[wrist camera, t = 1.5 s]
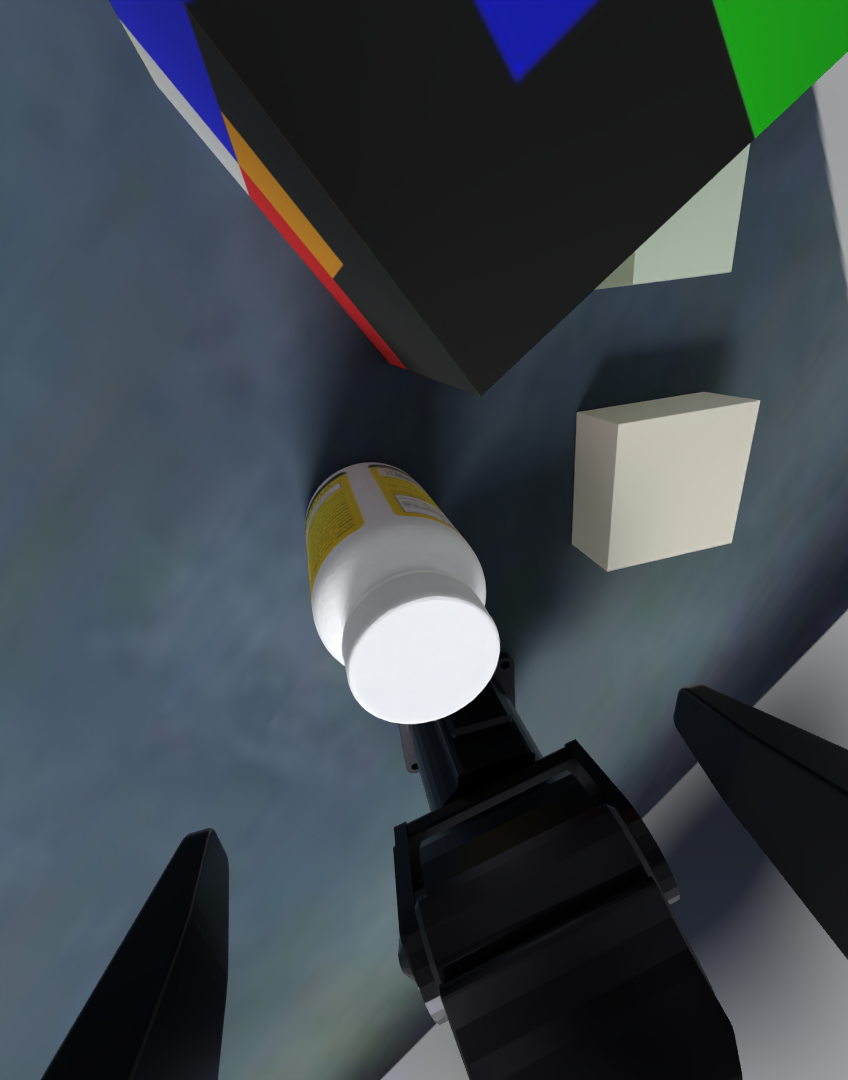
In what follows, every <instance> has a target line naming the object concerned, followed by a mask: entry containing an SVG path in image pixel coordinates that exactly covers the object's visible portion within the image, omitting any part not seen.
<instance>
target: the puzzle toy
mask: <svg viewBox="0 0 848 1080" xmlns="http://www.w3.org/2000/svg"><path fill="white" fill-rule="evenodd" d="M109 2H110V4H111V5H112V7H113V9H114V11H115V13H116V14H117V16H118V18H119V20H120V21H121V23H122V25H123V27H124V28H125V30H126V32H127V34H128V36H129V37H130V39H131V41H132V43H133V44H134V46H135V48H136V50H137V51H138V53H139V55H140V57H141V59H142V60H143V62H144V64H145V66H146V67H147V69H148V71H149V73H150V74H151V76H152V78H153V80H154V81H155V83H156V85H157V86H158V87H159V88H160V90H161V91H162V92H163V93H164V94H165V96H166V97H167V98H168V99H169V100H170V102H171V103H172V104H173V105H174V106H175V108H176V109H177V110H178V111H179V112H180V114H181V115H182V116H183V117H184V118H185V120H186V121H187V122H188V123H189V124H190V126H191V127H192V128H193V129H194V130H195V132H196V133H197V134H198V135H199V136H200V137H201V139H202V140H203V141H204V142H205V143H206V145H207V146H208V147H209V148H210V149H211V151H212V152H213V153H214V154H215V155H216V157H217V158H218V159H219V160H220V161H221V163H222V164H223V165H224V166H225V167H226V169H227V170H228V171H229V172H230V173H231V175H232V176H233V177H234V178H235V179H236V181H237V182H238V183H239V184H240V185H241V187H242V188H243V189H244V190H245V191H246V192H247V194H248V195H249V196H250V197H251V198H252V200H253V201H254V202H255V203H256V204H257V206H258V207H259V208H260V209H261V210H262V212H263V213H264V214H265V215H266V216H267V218H268V219H269V220H270V221H271V222H272V224H273V225H274V226H275V227H276V228H277V230H278V231H279V232H280V233H281V234H282V236H283V237H284V238H285V239H286V240H287V242H288V243H289V244H290V245H291V246H292V247H293V249H294V250H295V251H296V252H297V253H298V255H299V256H300V257H301V258H302V259H303V261H304V262H305V263H306V264H307V265H308V267H309V268H310V269H311V270H312V271H313V273H314V274H315V275H316V276H317V277H318V279H319V280H320V281H321V282H322V283H323V285H324V286H325V287H326V288H327V289H328V291H329V292H330V293H331V294H332V295H333V297H334V298H335V299H336V300H337V301H338V302H339V304H340V305H341V306H342V307H343V308H344V310H345V311H346V312H347V313H348V314H349V316H350V317H351V318H352V319H353V320H354V322H355V323H356V324H357V325H358V326H359V328H360V329H361V330H362V331H363V332H364V334H365V335H366V336H367V337H368V338H369V340H370V341H371V342H372V343H373V344H374V346H375V347H376V348H377V349H378V350H379V352H380V353H381V354H382V355H383V356H384V357H385V359H386V360H387V361H388V362H389V363H390V364H392V365H395V366H398V367H400V368H403V369H406V370H409V371H411V372H414V373H417V374H420V375H422V376H425V377H428V378H431V379H433V380H436V381H439V382H442V383H444V384H447V385H450V386H453V387H455V388H458V389H461V390H464V391H467V392H469V393H472V394H475V395H478V396H480V397H481V396H482V395H483V394H484V393H485V392H486V391H487V390H488V389H489V388H490V387H491V386H492V385H493V384H494V383H495V382H497V381H498V380H499V379H500V378H501V377H502V376H503V375H504V374H505V373H506V372H507V371H508V370H509V369H510V368H511V367H512V366H514V365H515V364H516V363H517V362H518V361H519V360H520V359H521V358H522V357H523V356H524V355H525V354H526V353H527V352H528V351H529V350H531V349H532V348H533V347H534V346H535V345H536V344H537V343H538V342H539V341H540V340H541V339H542V338H543V337H544V336H545V335H547V334H548V333H549V332H550V331H551V330H552V329H553V328H554V327H555V326H556V325H557V324H558V323H559V322H560V321H561V320H562V319H564V318H565V317H566V316H567V315H568V314H569V313H570V312H571V311H572V310H573V309H574V308H575V307H576V306H577V305H578V304H580V303H581V302H582V301H583V300H584V299H585V298H586V297H587V296H588V295H589V294H590V293H591V292H592V291H593V290H594V289H595V288H597V287H598V286H599V285H600V284H601V283H602V282H603V281H604V280H605V279H606V278H607V277H608V276H609V275H610V274H611V273H613V272H614V271H615V270H616V269H617V268H618V267H619V266H620V265H621V264H622V263H623V262H624V261H625V260H626V259H627V258H628V257H630V256H631V255H632V254H633V253H634V252H635V251H636V250H637V249H638V248H639V247H640V246H641V245H642V244H643V243H644V242H645V241H647V240H648V239H649V238H650V237H651V236H652V235H653V234H654V233H655V232H656V231H657V230H658V229H659V228H660V227H661V226H663V225H664V224H665V223H666V222H667V221H668V220H669V219H670V218H671V217H672V216H673V215H674V214H675V213H676V212H677V211H678V210H680V209H681V208H682V207H683V206H684V205H685V204H686V203H687V202H688V201H689V200H690V199H691V198H692V197H693V196H694V195H696V194H697V193H698V192H699V191H700V190H701V189H702V188H703V187H704V186H705V185H706V184H707V183H708V182H709V181H710V180H711V179H713V178H714V177H715V176H716V175H717V174H718V173H719V172H720V171H721V170H722V169H723V168H724V167H725V166H726V165H727V164H729V163H730V162H731V161H732V160H733V159H734V158H735V157H736V156H737V155H738V154H739V153H740V152H741V151H742V150H743V149H744V148H746V147H747V146H748V145H749V144H750V143H751V142H752V141H753V140H754V139H755V138H756V137H757V136H758V135H759V134H760V133H762V132H763V131H764V130H765V129H766V128H767V127H768V126H769V125H770V124H771V123H772V122H773V121H774V120H775V119H776V118H777V117H779V116H780V115H781V114H782V113H783V112H784V111H785V110H786V109H787V108H788V107H789V106H790V105H791V104H792V103H793V102H794V101H796V100H797V99H798V98H799V97H800V96H801V95H802V94H803V93H804V92H805V91H806V90H807V89H808V88H809V87H810V86H812V85H813V84H814V83H815V82H816V81H817V80H818V79H819V78H820V77H821V76H822V75H823V74H824V73H825V72H826V71H827V70H828V69H830V68H831V67H832V66H833V65H834V64H835V63H836V62H837V61H838V60H839V59H840V58H841V57H842V56H843V55H844V54H846V53H847V52H848V0H109Z"/></svg>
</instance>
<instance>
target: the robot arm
mask: <svg viewBox="0 0 848 1080" xmlns="http://www.w3.org/2000/svg"><path fill="white" fill-rule="evenodd" d="M505 661H506V662H505ZM503 662H505V663H504V664H502V663H503ZM674 723H675V726H676V728H677V730H678V731H679V733H680V734H681V736H682V738H683V739H684V741H685V742H686V744H687V745H688V747H689V748H690V750H691V751H692V753H693V754H694V756H695V758H696V759H697V761H698V762H699V764H700V765H701V767H702V768H703V770H704V771H705V773H706V774H707V776H708V777H709V779H710V780H711V782H712V783H713V785H714V787H715V788H716V790H717V791H718V793H719V794H720V796H721V797H722V798H723V800H724V801H725V803H726V804H727V805H728V806H729V808H730V809H731V811H732V812H733V813H734V814H735V816H736V817H737V818H738V820H739V821H740V822H741V824H742V825H743V826H744V827H745V829H746V830H747V831H748V832H749V834H750V835H751V836H752V838H753V839H754V840H755V841H756V843H757V844H758V845H759V847H760V848H761V849H762V850H763V852H764V853H765V854H766V856H767V857H768V858H769V859H770V861H771V862H772V863H773V864H774V866H775V867H776V868H777V870H778V871H779V872H780V874H781V875H782V876H783V877H784V879H785V880H786V881H787V882H788V884H789V885H790V886H791V888H792V889H793V890H794V891H795V893H796V894H797V895H798V897H799V898H800V899H801V900H802V902H803V903H804V904H805V906H806V907H807V908H808V909H809V911H810V912H811V913H812V914H813V916H814V917H815V918H816V920H817V921H818V922H819V923H820V925H821V926H822V927H823V929H824V930H825V931H826V932H827V934H828V935H829V936H830V938H831V939H832V940H833V941H834V943H835V944H836V945H837V947H838V948H839V949H840V950H841V951H842V953H843V954H844V955H845V957H846V958H847V959H848V750H847V749H845V748H843V747H841V746H839V745H836V744H834V743H831V742H830V741H827V740H825V739H823V738H821V737H819V736H816V735H814V734H812V733H810V732H807V731H805V730H803V729H801V728H798V727H796V726H794V725H792V724H790V723H787V722H785V721H783V720H781V719H778V718H776V717H774V716H772V715H770V714H767V713H765V712H763V711H761V710H758V709H756V708H754V707H752V706H750V705H747V704H745V703H743V702H741V701H738V700H736V699H734V698H732V697H730V696H727V695H725V694H723V693H721V692H718V691H716V690H714V689H712V688H710V687H707V686H705V685H702V684H694V685H691V686H687V687H684V688H682V689H680V690H679V693H678V697H677V701H676V706H675V711H674ZM399 729H400V734H401V740H402V746H403V752H404V758H405V763H406V767H407V770H408V772H410V773H417V772H420V775H421V778H422V782H423V785H424V789H425V792H426V796H427V800H428V803H429V807H430V810H431V812H430V813H428V814H426V815H424V816H421V817H419V818H417V819H415V820H413V821H411V822H409V823H407V822H404V823H402V824H400V825H398V826H396V827H394V834H395V847H393V852H394V865H395V879H396V892H397V906H398V920H399V933H400V938H399V950H398V957H399V963H400V966H401V969H402V971H403V973H404V974H405V975H406V976H408V977H409V978H411V979H412V980H414V981H415V982H416V983H417V986H418V988H419V990H420V992H421V995H422V997H423V1000H424V1002H425V1004H426V1006H427V1008H428V1011H429V1013H430V1015H431V1016H432V1018H433V1019H434V1021H435V1022H436V1023H438V1024H439V1025H440V1024H442V1023H444V1022H446V1021H448V1020H449V1023H450V1026H451V1029H452V1031H453V1034H454V1037H455V1040H456V1043H457V1046H458V1048H459V1051H460V1054H461V1057H462V1059H463V1063H464V1065H465V1068H466V1071H467V1074H468V1077H469V1080H742V1071H741V1066H740V1061H739V1055H738V1050H737V1045H736V1040H735V1035H734V1031H733V1027H732V1025H731V1023H730V1021H729V1019H728V1017H727V1016H726V1014H725V1012H724V1010H723V1008H722V1007H721V1005H720V1003H719V1002H718V1000H717V998H716V996H715V994H714V991H713V989H712V986H711V984H710V982H709V981H708V978H707V976H706V974H705V973H704V971H703V969H702V967H701V965H700V963H699V961H698V959H697V957H696V955H695V953H694V951H693V949H692V947H691V945H690V943H689V942H688V940H687V938H686V936H685V934H684V932H683V930H682V928H681V926H680V924H679V922H678V920H677V918H676V916H675V914H674V912H673V910H672V909H671V907H670V904H672V903H673V902H675V901H677V900H679V896H680V894H679V891H678V888H677V885H676V882H675V879H674V877H673V874H672V872H671V870H670V868H669V866H668V864H667V862H666V860H665V858H664V856H663V854H662V852H661V851H660V849H659V847H658V845H657V843H656V842H655V840H654V838H653V837H652V835H651V833H650V832H649V830H648V828H647V827H646V825H645V824H644V822H643V821H642V819H641V818H640V816H639V815H638V813H637V812H636V811H635V809H634V808H633V806H632V805H631V804H630V803H629V801H628V800H627V799H626V797H625V796H624V795H623V794H622V793H621V792H620V790H619V789H618V788H617V787H616V786H615V785H614V783H613V782H612V781H611V780H610V779H609V778H608V777H607V775H606V774H605V773H604V772H603V771H602V770H601V768H600V767H599V766H598V765H597V764H596V763H595V761H594V760H593V759H592V758H591V757H590V756H589V754H588V753H587V752H586V751H585V750H584V749H583V747H582V746H581V745H580V744H579V743H578V742H577V740H576V739H575V740H573V741H570V742H568V743H566V744H564V746H565V747H563V748H561V749H559V750H557V751H555V752H553V753H551V754H549V755H547V756H545V757H543V756H542V754H541V753H540V751H539V749H538V747H537V746H536V744H535V742H534V741H533V739H532V737H531V735H530V734H529V732H528V730H527V729H526V727H525V725H524V723H523V722H522V720H521V718H520V716H519V715H518V713H517V711H516V710H515V688H514V662H513V659H512V658H511V656H510V655H509V654H507V653H500V654H499V658H498V663H497V666H496V669H495V671H494V673H493V675H492V677H491V679H490V681H489V682H488V684H487V685H486V686H485V688H484V689H483V690H482V691H481V692H480V693H479V694H478V695H477V696H476V697H475V698H474V699H473V700H472V701H471V702H469V703H468V704H467V705H466V706H464V707H462V708H461V709H459V710H458V711H456V712H454V713H452V714H450V715H448V716H446V717H443V718H440V719H437V720H433V721H429V722H425V723H417V724H401V723H399ZM228 929H229V864H228V858H227V855H226V853H225V851H224V849H223V846H222V844H221V842H220V840H219V838H218V836H217V834H216V832H215V831H214V830H213V829H212V828H207V829H204V830H200V831H197V832H193V833H190V834H188V835H187V836H186V837H185V838H184V839H183V840H182V842H181V843H180V845H179V847H178V848H177V850H176V852H175V854H174V855H173V857H172V859H171V860H170V862H169V864H168V865H167V867H166V869H165V870H164V872H163V874H162V875H161V877H160V879H159V881H158V882H157V884H156V886H155V887H154V889H153V891H152V892H151V894H150V896H149V897H148V899H147V901H146V902H145V904H144V906H143V908H142V909H141V911H140V913H139V914H138V916H137V918H136V919H135V921H134V923H133V924H132V926H131V928H130V930H129V931H128V933H127V935H126V936H125V938H124V940H123V941H122V943H121V945H120V946H119V948H118V950H117V951H116V953H115V955H114V957H113V958H112V960H111V962H110V963H109V965H108V967H107V968H106V970H105V972H104V973H103V975H102V977H101V978H100V980H99V982H98V984H97V985H96V987H95V989H94V990H93V992H92V994H91V995H90V997H89V999H88V1000H87V1002H86V1004H85V1006H84V1007H83V1009H82V1011H81V1012H80V1014H79V1016H78V1017H77V1019H76V1021H75V1022H74V1024H73V1026H72V1027H71V1029H70V1031H69V1033H68V1034H67V1036H66V1038H65V1039H64V1041H63V1043H62V1044H61V1046H60V1048H59V1049H58V1051H57V1053H56V1054H55V1056H54V1058H53V1060H52V1061H51V1063H50V1065H49V1066H48V1068H47V1070H46V1071H45V1073H44V1075H43V1076H42V1078H41V1080H218V1073H219V1063H220V1053H221V1044H222V1034H223V1024H224V1015H225V1005H226V995H227V982H228Z"/></svg>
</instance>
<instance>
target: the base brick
mask: <svg viewBox="0 0 848 1080" xmlns="http://www.w3.org/2000/svg"><path fill="white" fill-rule="evenodd" d="M759 405H760V400H755V399H748V398H742V397H735V396H728V395H722V394H715V393H709V392H699V393H693V394H686V395H680V396H674V397H668V398H662V399H655V400H649V401H643V402H637V403H631V404H625V405H618V406H612V407H606V408H600V409H594V410H587V411H581V412H577V421H576V447H575V473H574V500H573V526H572V545H573V546H575V547H576V548H577V549H579V550H580V551H581V552H582V553H584V554H585V555H586V556H588V557H589V558H590V559H592V560H593V561H594V562H595V563H597V564H598V565H599V566H601V567H602V568H603V569H604V570H606V571H607V572H608V571H612V570H617V569H621V568H625V567H630V566H634V565H638V564H642V563H647V562H651V561H655V560H660V559H664V558H668V557H673V556H677V555H681V554H686V553H690V552H694V551H699V550H703V549H707V548H712V547H716V546H720V545H724V544H729V543H732V538H733V533H734V528H735V524H736V519H737V514H738V509H739V504H740V499H741V494H742V489H743V484H744V479H745V474H746V469H747V464H748V459H749V454H750V449H751V444H752V439H753V434H754V429H755V424H756V419H757V414H758V410H759Z"/></svg>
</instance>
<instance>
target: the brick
mask: <svg viewBox="0 0 848 1080" xmlns="http://www.w3.org/2000/svg"><path fill="white" fill-rule="evenodd" d="M749 148H750V144H749V145H748V146H747V147H746V148H744V149H743V150H742V151H741V152H740V153H739V154H738V155H737V156H736V157H735V158H734V159H733V160H732V161H731V162H730V163H729V164H727V165H726V166H725V167H724V168H723V169H722V170H721V171H720V172H719V173H718V174H717V175H716V176H715V177H714V178H713V179H711V180H710V181H709V182H708V183H707V184H706V185H705V186H704V187H703V188H702V189H701V190H700V191H699V192H698V193H697V194H696V195H694V196H693V197H692V198H691V199H690V200H689V201H688V202H687V203H686V204H685V205H684V206H683V207H682V208H681V209H680V210H678V211H677V212H676V213H675V214H674V215H673V216H672V217H671V218H670V219H669V220H668V221H667V222H666V223H665V224H664V225H663V226H661V227H660V228H659V229H658V230H657V231H656V232H655V233H654V234H653V235H652V236H651V237H650V238H649V239H648V240H647V241H645V242H644V243H643V244H642V245H641V246H640V247H639V248H638V249H637V250H636V251H635V252H634V253H633V254H632V255H631V256H630V257H628V258H627V259H626V260H625V261H624V262H623V263H622V264H621V265H620V266H619V267H618V268H617V269H616V270H615V271H614V272H613V273H611V274H610V275H609V276H608V277H607V278H606V279H605V280H604V281H603V282H602V283H601V284H600V285H599V286H598V287H597V288H595V289H594V290H596V289H604V288H612V287H620V286H628V285H636V284H644V283H652V282H660V281H668V280H675V279H683V278H690V277H698V276H705V275H713V274H720V273H728V272H731V270H732V263H733V256H734V250H735V243H736V236H737V229H738V222H739V216H740V209H741V202H742V195H743V188H744V182H745V175H746V168H747V161H748V155H749Z"/></svg>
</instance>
